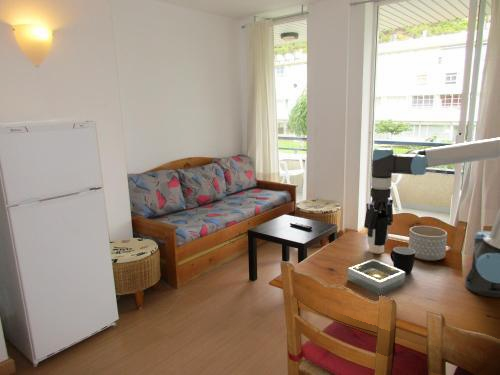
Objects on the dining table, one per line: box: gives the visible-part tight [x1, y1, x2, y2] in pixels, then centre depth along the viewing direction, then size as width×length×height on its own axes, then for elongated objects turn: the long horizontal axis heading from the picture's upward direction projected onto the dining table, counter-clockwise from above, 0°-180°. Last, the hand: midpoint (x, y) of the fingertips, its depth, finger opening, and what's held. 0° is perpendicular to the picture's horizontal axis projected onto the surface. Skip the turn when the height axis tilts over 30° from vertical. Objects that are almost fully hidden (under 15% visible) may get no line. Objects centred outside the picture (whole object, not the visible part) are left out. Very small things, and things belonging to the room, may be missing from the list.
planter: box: [407, 225, 448, 262], centre depth 179 cm, size 16×16×13 cm
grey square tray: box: [347, 258, 406, 296], centre depth 153 cm, size 16×16×6 cm
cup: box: [374, 213, 390, 246], centre depth 149 cm, size 8×8×12 cm
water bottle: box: [366, 209, 385, 255], centre depth 185 cm, size 10×9×28 cm
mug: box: [389, 246, 416, 276], centre depth 163 cm, size 12×9×10 cm
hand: (377, 241), depth 150 cm, fingers closed on cup, 8 cm apart
